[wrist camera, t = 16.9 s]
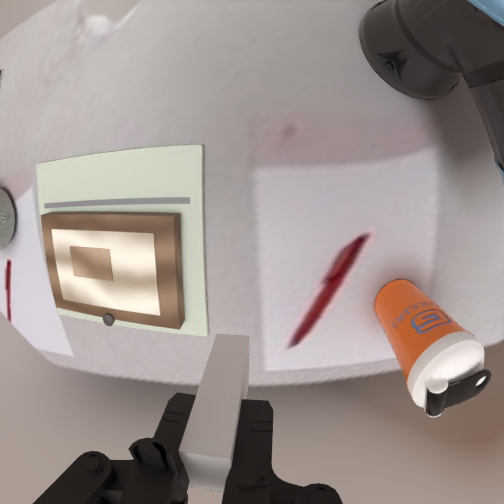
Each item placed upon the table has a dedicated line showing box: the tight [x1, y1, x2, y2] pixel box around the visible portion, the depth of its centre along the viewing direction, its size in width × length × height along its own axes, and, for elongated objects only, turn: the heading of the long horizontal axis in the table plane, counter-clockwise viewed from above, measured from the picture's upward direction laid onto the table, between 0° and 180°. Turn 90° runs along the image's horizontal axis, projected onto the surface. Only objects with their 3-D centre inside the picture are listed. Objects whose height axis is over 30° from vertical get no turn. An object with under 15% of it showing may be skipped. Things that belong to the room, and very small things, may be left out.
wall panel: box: [37, 145, 209, 336], centre depth 38 cm, size 26×28×1 cm
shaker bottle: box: [375, 279, 491, 417], centre depth 28 cm, size 9×9×20 cm
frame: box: [41, 212, 185, 330], centre depth 36 cm, size 16×22×3 cm
